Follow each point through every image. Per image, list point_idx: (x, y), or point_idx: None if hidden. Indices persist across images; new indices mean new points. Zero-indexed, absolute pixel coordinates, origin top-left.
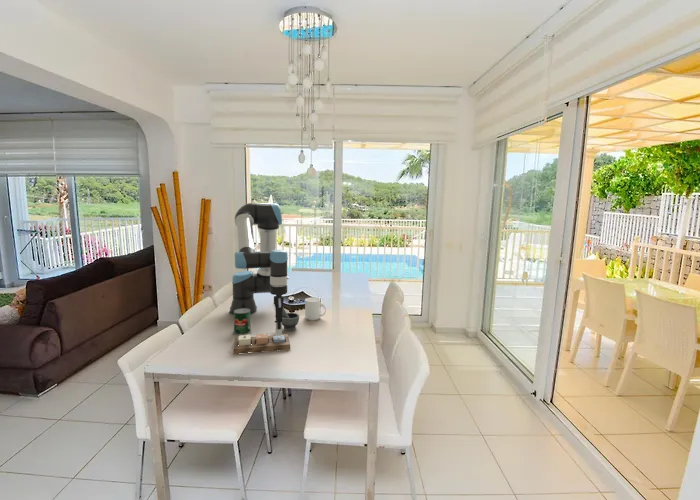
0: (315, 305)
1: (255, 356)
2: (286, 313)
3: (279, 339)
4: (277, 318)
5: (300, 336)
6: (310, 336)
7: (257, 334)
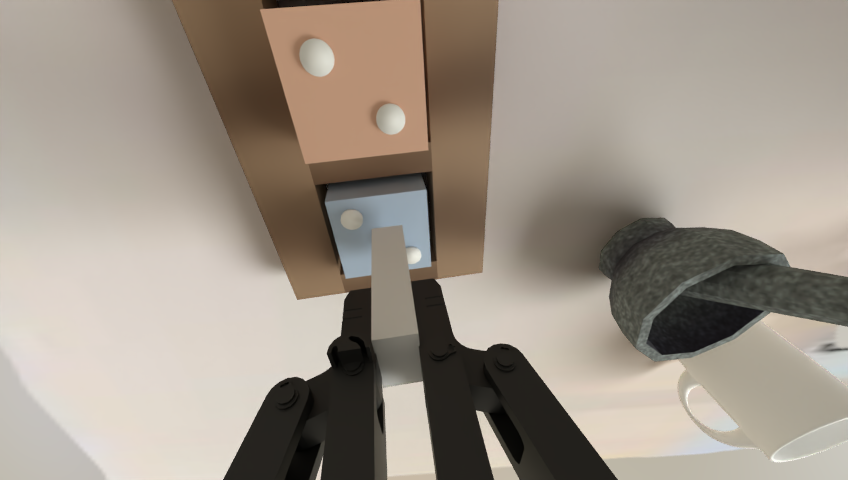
0: (748, 425)
1: (109, 11)
2: (752, 307)
3: (343, 243)
4: (235, 473)
5: (494, 305)
6: (480, 342)
7: (410, 19)
